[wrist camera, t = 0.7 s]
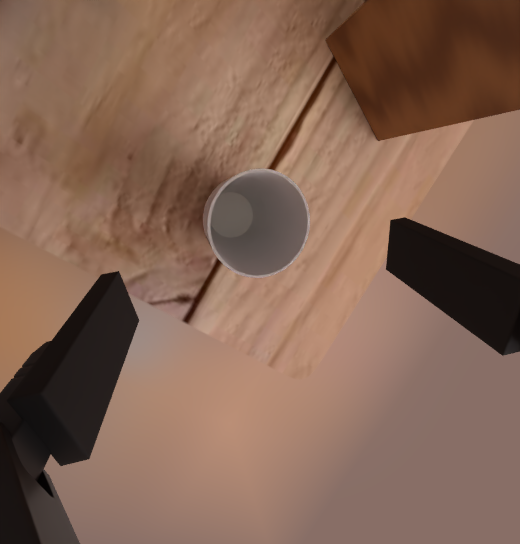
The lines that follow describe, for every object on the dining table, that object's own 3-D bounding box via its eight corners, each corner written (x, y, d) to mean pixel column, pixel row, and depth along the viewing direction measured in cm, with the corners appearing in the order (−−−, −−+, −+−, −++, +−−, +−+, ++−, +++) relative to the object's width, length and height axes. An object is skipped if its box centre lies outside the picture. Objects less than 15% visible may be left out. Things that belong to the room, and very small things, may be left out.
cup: (178, 227, 28) (185, 245, 19) (219, 158, 28) (246, 143, 19) (242, 264, 32) (274, 294, 23) (279, 203, 31) (328, 209, 22)
